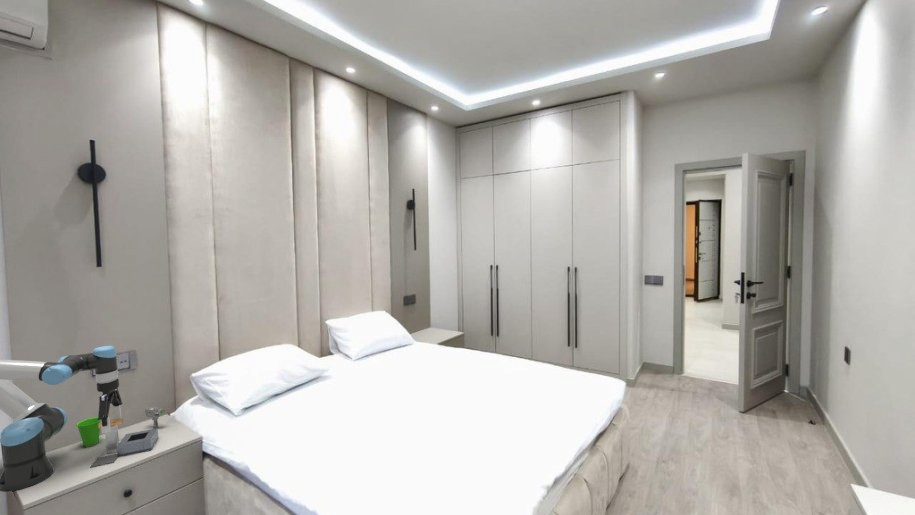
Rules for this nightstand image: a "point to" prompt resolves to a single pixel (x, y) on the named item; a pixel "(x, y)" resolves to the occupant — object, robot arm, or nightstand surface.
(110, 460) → the mat
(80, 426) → the cup
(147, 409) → the mechanical component
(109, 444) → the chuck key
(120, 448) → the chuck block
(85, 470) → the nightstand surface
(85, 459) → the nightstand surface
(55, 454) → the nightstand surface
